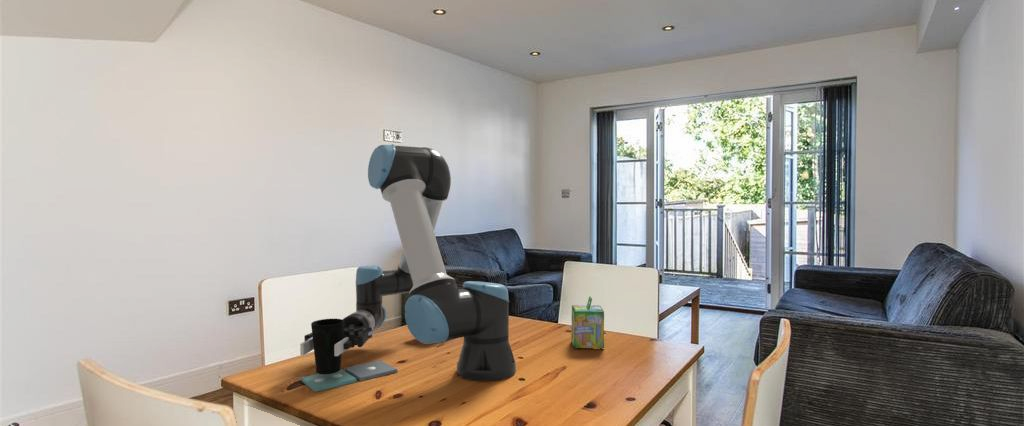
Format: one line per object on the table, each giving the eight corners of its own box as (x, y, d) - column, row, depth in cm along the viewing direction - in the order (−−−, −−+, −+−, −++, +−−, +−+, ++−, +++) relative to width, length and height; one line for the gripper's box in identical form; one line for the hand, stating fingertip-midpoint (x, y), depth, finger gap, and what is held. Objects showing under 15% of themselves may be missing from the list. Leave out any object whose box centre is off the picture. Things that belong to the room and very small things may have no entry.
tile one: (397, 372, 130) (397, 368, 130) (360, 381, 124) (360, 377, 124) (380, 362, 138) (380, 359, 138) (344, 370, 131) (344, 367, 131)
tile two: (356, 382, 123) (356, 378, 123) (315, 392, 117) (315, 388, 117) (340, 371, 131) (340, 368, 131) (301, 380, 124) (300, 377, 124)
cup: (351, 368, 126) (351, 320, 125) (328, 377, 119) (327, 327, 118) (328, 364, 129) (327, 317, 129) (304, 373, 122) (304, 323, 122)
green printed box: (571, 341, 159) (570, 294, 158) (600, 341, 158) (600, 294, 158) (573, 349, 149) (573, 300, 149) (604, 349, 149) (604, 300, 149)
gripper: (392, 340, 141) (361, 366, 118) (321, 338, 142) (277, 364, 120) (392, 313, 141) (360, 335, 118) (321, 312, 142) (277, 333, 119)
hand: (318, 350), depth 119 cm, fingers closed on cup, 8 cm apart
